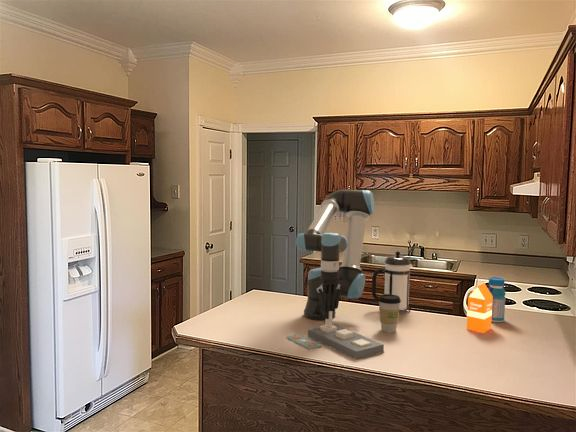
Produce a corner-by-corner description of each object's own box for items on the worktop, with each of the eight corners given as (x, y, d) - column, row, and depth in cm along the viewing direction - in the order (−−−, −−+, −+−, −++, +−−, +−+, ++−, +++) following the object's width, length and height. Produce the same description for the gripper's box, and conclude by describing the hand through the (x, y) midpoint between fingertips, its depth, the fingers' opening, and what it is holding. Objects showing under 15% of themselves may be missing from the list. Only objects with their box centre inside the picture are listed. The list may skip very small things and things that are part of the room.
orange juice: (466, 328, 214) (468, 284, 212) (474, 324, 220) (476, 281, 218) (484, 333, 208) (486, 287, 207) (491, 328, 215) (493, 284, 213)
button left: (320, 333, 202) (320, 325, 202) (329, 331, 205) (329, 323, 204) (327, 337, 198) (327, 329, 197) (337, 335, 200) (337, 327, 200)
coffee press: (390, 304, 254) (391, 247, 251) (416, 310, 243) (418, 251, 240) (370, 310, 242) (372, 251, 239) (398, 317, 230) (399, 255, 228)
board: (308, 336, 202) (308, 329, 201) (334, 330, 209) (334, 323, 209) (356, 359, 177) (356, 351, 176) (383, 352, 184) (383, 344, 184)
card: (286, 338, 199) (286, 336, 199) (298, 335, 202) (298, 333, 202) (309, 349, 186) (309, 347, 186) (321, 347, 189) (321, 345, 189)
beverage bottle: (499, 323, 222) (501, 281, 220) (481, 319, 228) (483, 278, 226) (507, 320, 227) (509, 278, 225) (490, 316, 233) (492, 275, 232)
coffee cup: (400, 334, 205) (401, 300, 204) (377, 332, 207) (377, 298, 206) (399, 327, 215) (400, 294, 213) (377, 325, 217) (378, 293, 215)
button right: (351, 350, 185) (352, 341, 185) (361, 347, 188) (361, 338, 188) (360, 354, 181) (360, 345, 181) (370, 351, 184) (370, 342, 184)
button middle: (335, 339, 194) (335, 331, 193) (345, 337, 196) (345, 328, 196) (343, 343, 189) (343, 334, 189) (353, 340, 192) (353, 332, 192)
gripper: (323, 273, 192) (321, 330, 194) (347, 270, 199) (346, 325, 201) (311, 270, 198) (310, 326, 200) (336, 267, 206) (335, 321, 207)
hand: (328, 325), depth 201 cm, fingers closed
